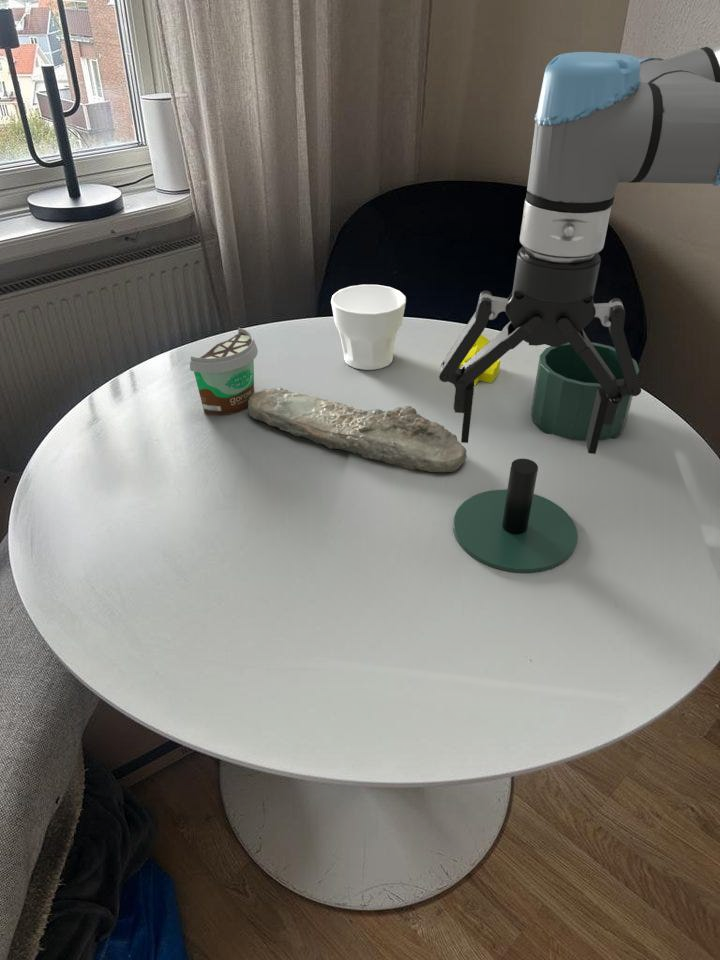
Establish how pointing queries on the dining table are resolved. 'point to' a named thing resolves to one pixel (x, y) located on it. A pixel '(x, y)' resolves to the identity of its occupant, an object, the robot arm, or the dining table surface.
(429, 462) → the elongated rock
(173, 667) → the dining table surface
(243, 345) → the food container
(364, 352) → the cup
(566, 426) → the pot
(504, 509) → the pot lid
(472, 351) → the yellow faceted cluster
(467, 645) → the dining table surface
